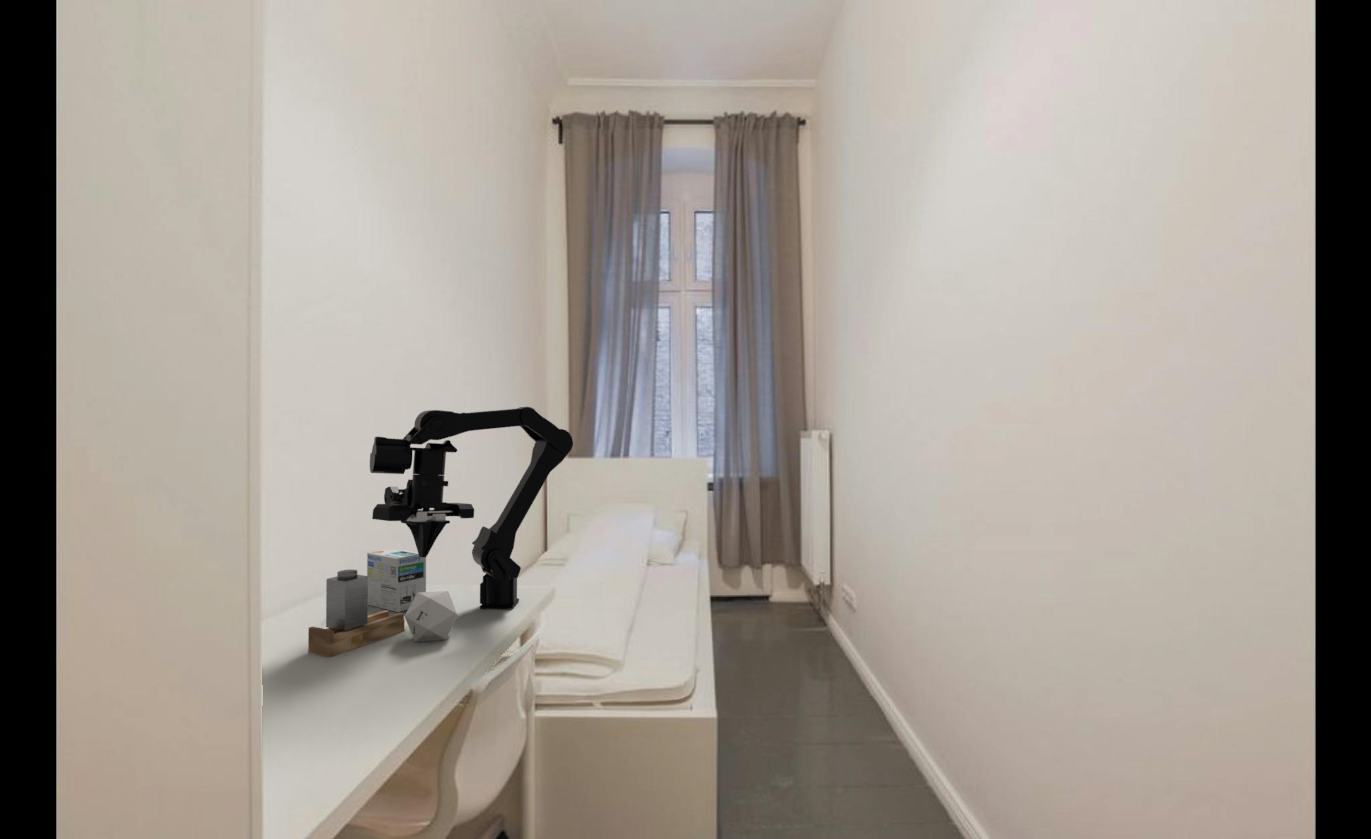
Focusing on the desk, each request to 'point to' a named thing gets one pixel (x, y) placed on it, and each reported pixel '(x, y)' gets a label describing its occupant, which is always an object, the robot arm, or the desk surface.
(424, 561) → the light bulb box
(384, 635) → the beam
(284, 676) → the desk surface
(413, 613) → the die
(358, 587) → the square grey bottle
